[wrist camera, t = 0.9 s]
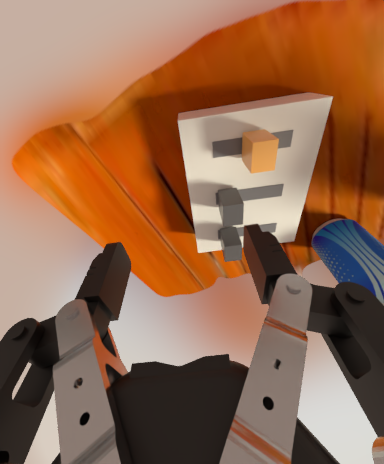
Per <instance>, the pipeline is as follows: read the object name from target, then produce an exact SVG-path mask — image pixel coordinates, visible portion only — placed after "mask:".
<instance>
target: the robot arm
mask: <svg viewBox="0 0 384 464" xmlns="http://www.w3.org/2000/svg"><path fill="white" fill-rule="evenodd" d="M243 249H244V254H245V257H246V260H247V263H248V266H249V269H250V271H251V274H252V277H253V280H254V283H255V286H256V289H257V292H258V295H259V298H260V300H261V303H262V304H268V305H269V309H268V312H267V316H266V318H265V320H264V323H263V326H262V329H261V332H260V335H259V339H258V342H257V345H256V349H255V352H254V355H253V358H252V362H251V365H250V368H248V367H246V366H245V365H243V364H240V363H238V362H235V361H230V360H229V354H225V355H215V356H205V357H202V358H200V359H197V360H195V361H192V362H190V363H188V364H185V365H183V366H174V365H169V364H164V363H159V362H145V363H136V364H132V367H131V371H130V372H128V371H127V370H126V368H125V366H124V364H123V363H122V361H121V359H120V356H119V354H118V350H117V348H116V345H115V342H114V340H113V337H112V334H111V331H110V329H109V327H108V325H109V322H110V321H114V320H118V318H119V314H120V310H121V306H122V302H123V298H124V294H125V289H126V286H127V282H128V278H129V274H130V270H131V261H130V259H129V257H128V255H127V253H126V251H125V249H124V247H123V245H122V243H121V242H117V243H110V244H106V246H105V248H104V251H103V253H100V254H99V255H98V256H97V257H96V258H95V259H94V260H93V261H92V264H91V266H90V269H89V270H88V272H87V276H85V279H84V281H83V283H82V285H81V287H80V289H79V292H78V294H77V296H76V298H75V300H73V301H71V302H69V303H67V304H66V305H64V306H63V307H62V308H61V309H60V311H59V312H58V314H57V315H56V316H54V317H52V318H49V319H47V320H44V321H42V322H38V321H36V320H35V319H33V318H27V319H24V320H21V321H20V322H18V323H16V324H15V325H14V326H12V327H11V328H10V329H9V330H8V332H7V333H6V334H5V335H4V337H3V339H2V340H1V341H0V464H24V462H25V459H26V457H27V455H28V452H29V449H30V447H31V445H32V442H33V440H34V437H35V435H36V433H37V430H38V428H39V425H40V423H41V421H42V418H43V416H44V413H45V411H46V408H47V406H48V404H49V401H50V399H51V396H52V394H53V391H54V390H55V400H56V411H57V422H58V433H59V444H60V453H59V454H58V456H57V457H56V458H55V460H54V461H53V462H52V464H339V462H338V461H337V460H336V459H335V458H334V457H333V456H332V455H331V454H330V453H329V452H328V450H327V449H326V448H325V447H324V446H323V445H322V444H321V443H320V442H319V441H318V440H317V438H316V437H314V435H313V434H312V433H311V432H310V431H309V430H308V429H307V428H306V426H305V425H304V424H303V423H302V422H301V421H300V420H299V419H298V418H297V413H298V406H299V398H300V392H301V385H302V377H303V371H304V364H305V357H306V350H307V340H308V339H307V336H306V330H308V331H313V332H318V333H321V334H322V336H323V338H324V340H325V341H326V343H327V345H328V347H329V349H330V351H331V352H332V354H333V356H334V358H335V360H336V362H337V363H338V365H339V367H340V369H341V371H342V372H343V374H344V376H345V378H346V380H347V381H348V383H349V385H350V387H351V389H352V391H353V392H354V394H355V396H356V398H357V400H358V402H359V403H360V405H361V407H362V409H363V411H364V412H365V414H366V416H367V418H368V420H369V421H370V423H371V425H372V427H373V428H374V431H375V432H376V434H377V436H378V438H376V440H375V441H374V443H373V447H372V455H373V460H374V463H375V464H384V305H383V304H382V303H381V302H380V301H379V300H378V299H377V297H376V296H375V295H374V294H373V293H372V292H371V291H370V290H368V289H367V288H366V287H364V286H362V285H360V284H357V283H353V282H341V283H339V284H338V285H337V286H336V287H335V288H329V287H324V286H317V285H313V284H310V283H309V282H308V281H307V280H306V279H305V278H303V277H301V276H299V275H297V273H296V271H295V270H294V268H293V266H292V264H291V263H290V261H289V259H288V257H287V256H286V254H285V252H284V251H283V249H282V247H281V245H280V243H279V242H278V240H277V238H276V237H275V236H274V235H273V234H272V233H270V232H269V231H266V232H262V230H261V228H260V226H259V224H251V225H244V236H243ZM28 362H29V363H31V364H32V365H31V367H30V369H29V371H28V373H27V375H26V377H25V378H24V380H23V382H22V384H21V386H20V388H19V390H18V392H17V394H16V396H15V398H14V399H13V400H12V392H13V389H14V387H15V385H16V383H17V382H18V380H19V378H20V376H21V374H22V372H23V371H24V369H25V367H26V365H27V363H28Z"/></svg>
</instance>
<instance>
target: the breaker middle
mask: <svg viewBox="0 0 384 464" xmlns="http://www.w3.org/2000/svg"><path fill="white" fill-rule="evenodd" d="M218 202H219V212H220V215H221V219H222V223H223V226H224V227H226V226H233V225H241V224H243V212H244V203H243V201H242V199H241V196H240V194H239V192H238V190H237V188H229V189H222V190H218Z"/></svg>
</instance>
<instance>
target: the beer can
mask: <svg viewBox="0 0 384 464" xmlns="http://www.w3.org/2000/svg"><path fill="white" fill-rule="evenodd" d="M312 247H313V249H314V250H315V252H316V253H317V254H318V256H319V257H320V258H321V260H322V261H323V262H324V264H325V265H326V266H327V268H328V269H329V270H330V272H331V273H332V274H333V276H334V277H335V278H336V280H337V281H338V283H341V282H353V283H357V284H360V285H362V286H364V287H366V288H367V289H368V290H370V291H371V292H372V293H373V294H374V295H375V296H376V297H377V299H378V300H379V301H380V302H381V303H382V304H383V305H384V246H383V245H382V244H381V243H380V242H379V241H378V240H377V239H376V238H374V237H373V236H372V235H371V234H370V233H369V232H367V231H366V230H365V229H364V228H363V227H362V226H360V225H359V224H358V223H357V222H356V221H354V220H351V219H341V218H338V219H332V220H329V221H327V222H325V223H323V224H322V225H320V226H319V227H318V228H317V229H316V230H315V232H314V234H313V236H312Z"/></svg>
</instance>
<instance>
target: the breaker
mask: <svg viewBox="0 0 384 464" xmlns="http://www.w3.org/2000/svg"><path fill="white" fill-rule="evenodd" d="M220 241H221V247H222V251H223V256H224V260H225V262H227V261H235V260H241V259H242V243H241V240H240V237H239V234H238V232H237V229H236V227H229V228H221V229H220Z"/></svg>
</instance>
